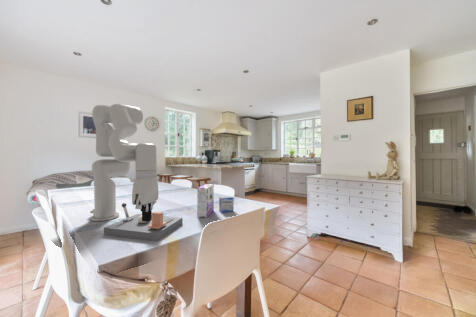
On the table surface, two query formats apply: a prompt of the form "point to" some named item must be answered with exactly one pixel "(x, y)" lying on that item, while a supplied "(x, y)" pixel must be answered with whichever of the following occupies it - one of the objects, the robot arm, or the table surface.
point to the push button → (141, 219)
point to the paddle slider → (157, 220)
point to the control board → (142, 228)
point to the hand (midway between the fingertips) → (146, 220)
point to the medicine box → (226, 204)
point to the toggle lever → (125, 210)
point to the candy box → (205, 200)
